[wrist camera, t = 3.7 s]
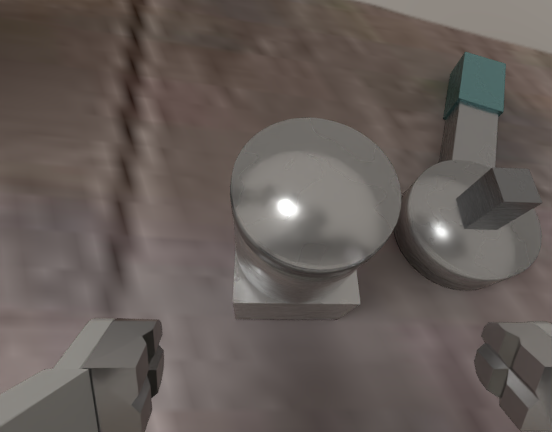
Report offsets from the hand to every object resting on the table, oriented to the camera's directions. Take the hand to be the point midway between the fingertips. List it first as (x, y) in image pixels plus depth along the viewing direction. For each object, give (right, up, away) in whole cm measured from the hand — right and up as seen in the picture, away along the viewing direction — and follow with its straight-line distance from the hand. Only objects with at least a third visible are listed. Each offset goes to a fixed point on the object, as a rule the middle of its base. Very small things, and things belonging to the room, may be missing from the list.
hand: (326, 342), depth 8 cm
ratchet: (+11, +7, +14) cm, 19 cm away
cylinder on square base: (-1, 0, +10) cm, 10 cm away
